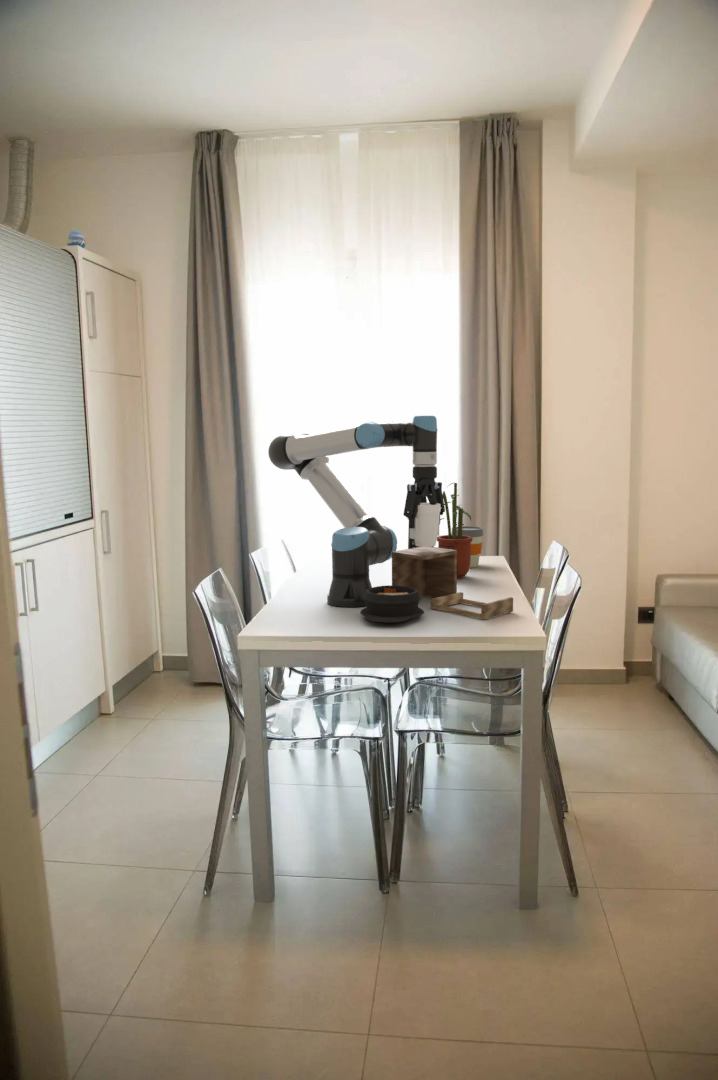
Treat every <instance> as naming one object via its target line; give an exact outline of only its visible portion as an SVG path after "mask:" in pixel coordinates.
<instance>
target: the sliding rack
mask: <svg viewBox="0 0 718 1080" xmlns="http://www.w3.org/2000/svg"><path fill="white" fill-rule="evenodd" d="M460 603H461V604H465V605H469V606H475V607H480V609H481V610H480V612H476V611H471V610H466V609H461V608H457V607H452V605H457V604H460ZM430 610H438V611H442V612H447V613H453V614H458V615H463V616H467V617H472V618H476V619H481V620H487V619H491V618H494V617H498V616H501V615H506V614H509V613H513V612H514V597H506V598H503V599H498V600H495V601H490V602H483V601H482V602H481V601H477V600H473V599H466V598H464V592H461V591H460V592H457V593H454V594H450V595H446V596H441V597H432V598H431V599H430Z"/></svg>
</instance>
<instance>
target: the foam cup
mask: <svg viewBox="0 0 718 1080" xmlns="http://www.w3.org/2000/svg"><path fill="white" fill-rule="evenodd" d="M440 512H441V504H439V503H436V505H431V504H430V503H429V502H427V503H420V505H418V512H417V515H416V517H415V518H418V539H415V544H416V546H420V547H430V546H434V547H435V546H437V537H438V536H437V532H438V523H439V515H440ZM412 514H413V513H412ZM440 516H441V515H440Z"/></svg>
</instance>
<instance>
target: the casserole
mask: <svg viewBox="0 0 718 1080" xmlns="http://www.w3.org/2000/svg"><path fill="white" fill-rule="evenodd" d="M363 599H364V600H365V602H366V606H365V607H364V608H362V609H361V610H360V614H361V616H363V618H364V620H365V621H368V622H373V623H383V624H384V623H385V624H386V623H387V624H389V623H390V624H392V623H393V624H396V623H397V624H398V623H404V622H408V621H410V620H413V619H416V618H419V617H421V616H422V615H424V614H425V611H424V610H423V609H422V608H421V607H419V603H420V601H421V599H422V597H421V596H420V595H419V593H418V590H417V589H415V588H412V587H407V586H393V585H392V584H391V585H380V586H378V585H377V586H373V587H372V588H370V589H368V590H367V591H366V594H365V596H364V597H363Z"/></svg>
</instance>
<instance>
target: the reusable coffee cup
mask: <svg viewBox="0 0 718 1080" xmlns="http://www.w3.org/2000/svg"><path fill="white" fill-rule="evenodd" d="M451 535H453V527H451ZM456 535H458V526H456ZM462 535H465V536H471V537H473V540H472V542H471V559H470V567H469V569H470V568H477V567H479V564H480V563H479V562H480V555H481V554H482V548H483V537H484V530H483V527H479V526H470V525H466V526H465V525H464V526H463V525H462Z"/></svg>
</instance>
